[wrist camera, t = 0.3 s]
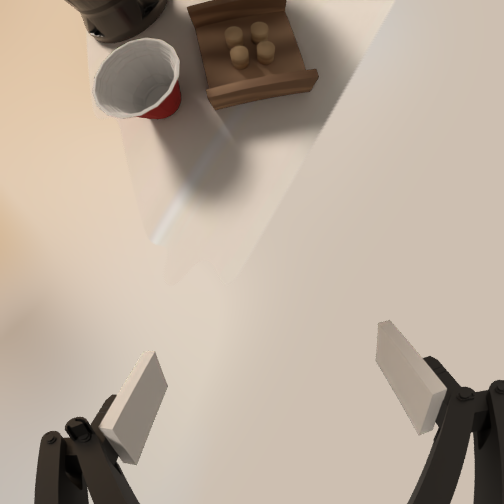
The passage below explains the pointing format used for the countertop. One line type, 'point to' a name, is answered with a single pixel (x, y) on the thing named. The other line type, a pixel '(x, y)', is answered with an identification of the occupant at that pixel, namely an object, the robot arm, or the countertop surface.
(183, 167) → the countertop surface
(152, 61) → the plastic cup
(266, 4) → the peg board
